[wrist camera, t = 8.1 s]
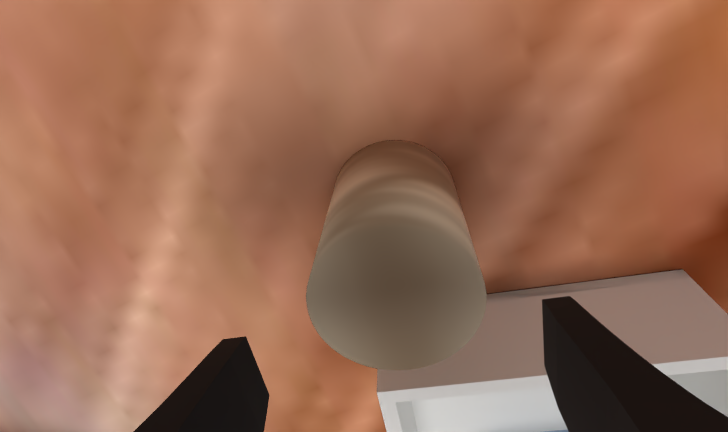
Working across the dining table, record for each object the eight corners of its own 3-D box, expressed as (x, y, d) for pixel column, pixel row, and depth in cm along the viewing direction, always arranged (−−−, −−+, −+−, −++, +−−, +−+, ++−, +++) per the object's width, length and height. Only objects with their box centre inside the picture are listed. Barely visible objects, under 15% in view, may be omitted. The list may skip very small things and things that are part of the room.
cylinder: (447, 129, 18) (477, 211, 12) (461, 241, 20) (493, 361, 14) (321, 151, 18) (285, 239, 12) (347, 257, 21) (329, 378, 14)
